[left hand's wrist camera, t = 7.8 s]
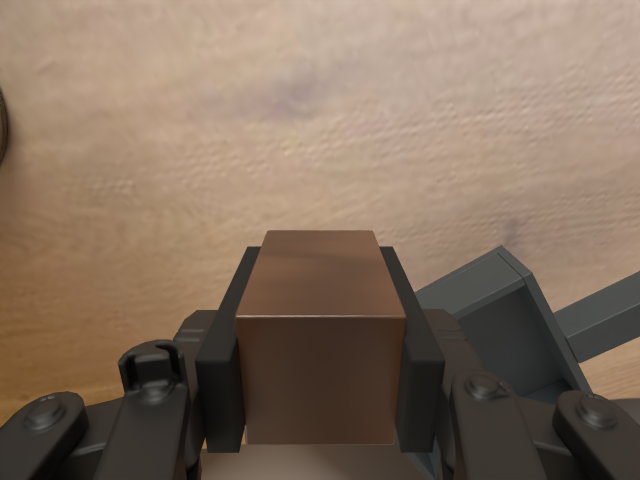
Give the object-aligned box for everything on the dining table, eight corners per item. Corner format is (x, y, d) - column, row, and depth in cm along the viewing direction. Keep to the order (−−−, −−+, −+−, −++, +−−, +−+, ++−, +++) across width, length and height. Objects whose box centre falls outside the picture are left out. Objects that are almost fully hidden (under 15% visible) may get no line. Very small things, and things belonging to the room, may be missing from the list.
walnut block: (271, 321, 16) (245, 446, 10) (266, 229, 14) (233, 316, 9) (368, 321, 16) (395, 446, 10) (373, 229, 14) (407, 316, 9)
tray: (419, 441, 33) (432, 489, 29) (336, 334, 29) (339, 373, 25) (746, 294, 27) (817, 330, 23) (702, 136, 23) (779, 146, 19)
